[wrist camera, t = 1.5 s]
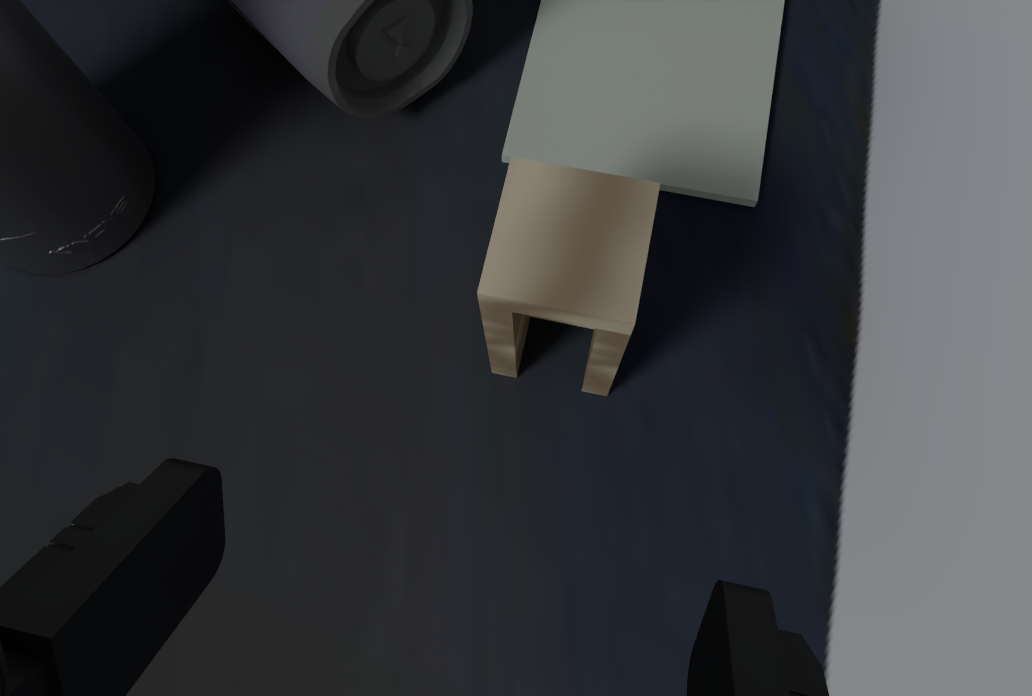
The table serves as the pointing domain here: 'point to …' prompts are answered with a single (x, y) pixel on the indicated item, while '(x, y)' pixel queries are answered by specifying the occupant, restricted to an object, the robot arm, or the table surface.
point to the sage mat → (652, 92)
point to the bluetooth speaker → (365, 46)
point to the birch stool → (566, 262)
